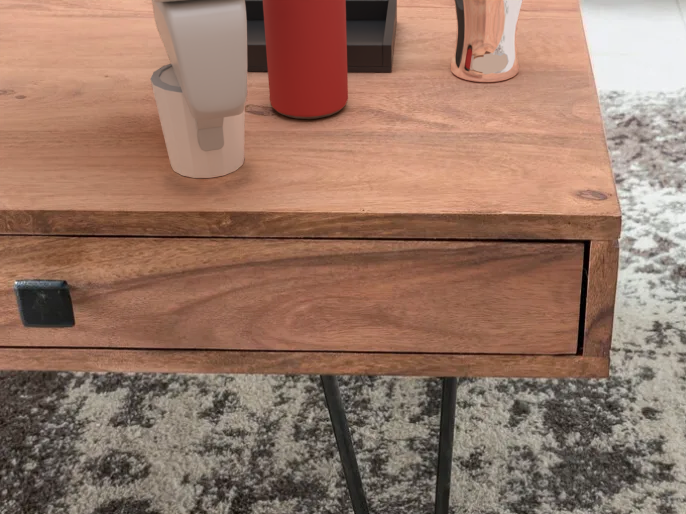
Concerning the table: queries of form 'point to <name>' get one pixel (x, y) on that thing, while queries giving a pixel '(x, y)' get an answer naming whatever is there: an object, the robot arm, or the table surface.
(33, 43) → the table surface
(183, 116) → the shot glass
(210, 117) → the robot arm
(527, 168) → the table surface
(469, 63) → the beer glass
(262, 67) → the tray
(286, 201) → the table surface
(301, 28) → the beer can
